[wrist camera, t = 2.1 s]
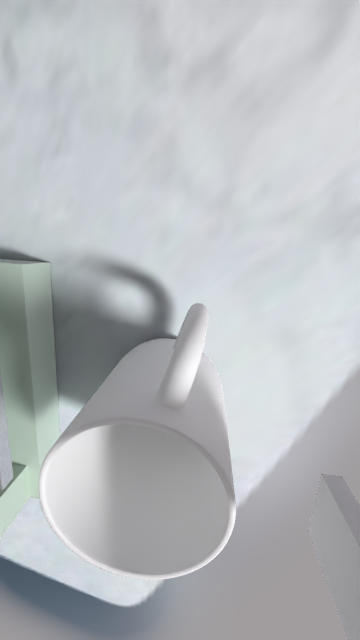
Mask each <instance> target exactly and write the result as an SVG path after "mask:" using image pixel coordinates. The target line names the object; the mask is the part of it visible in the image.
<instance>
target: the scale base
mask: <svg viewBox="0 0 360 640" xmlns="http://www.w3.org/2000/svg"><path fill="white" fill-rule="evenodd" d="M0 368H1V376H2V385H3V393H4V402H5V410H6V419H7V427H8V435H9V444H10V452H11V461H12V469H13V479H12V480H11V481H10V482H9V483H8V485H7V486H6V487H5V488H4V489H3V490H0V539H1V537H2V536H3V534H4V533H5V532H6V530H7V529H8V527H9V526H10V525H11V523H12V522H13V521H14V519H15V518H16V516H17V515H18V514H19V512H20V511H21V509H22V508H23V507H24V505H25V504H26V502H27V501H28V500H29V498H30V497H32V498H39V490H38V484H39V475H40V470H41V467H42V463H43V461H44V459H45V457H46V455H47V453H48V452H49V450H50V449H51V448H52V446H53V445H54V444H55V442H56V441H57V440H58V439H59V437H60V421H59V404H58V388H57V371H56V354H55V338H54V321H53V304H52V287H51V271H50V262H38V261H25V260H11V259H0Z"/></svg>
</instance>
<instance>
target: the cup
mask: <svg viewBox="0 0 360 640" xmlns="http://www.w3.org/2000/svg"><path fill="white" fill-rule="evenodd" d="M208 317H209V315H208V310H207V308H206V307H205V306H204V305H203V304H199V303H197V304H194V305H192V306H191V307H190V309H189V310H188V313H187V315H186V317H185V320H184V322H183V324H182V327H181V329H180V332H179V334H178V336H177V339H169V338H161V339H153V340H149V341H146V342H144V343H141V344H139V345H138V346H136V347H134V348H133V349H132V350H130V351H129V352H128V353H127V354H126V355H125V356H124V357H123V358H122V359H121V360H120V361H119V363H118V364H117V365H116V366H115V368H114V369H113V370H112V372H111V373H110V374H109V375H108V377H107V378H106V379H105V380H104V382H103V383H102V384H101V385H100V387H99V388H98V389H97V391H96V392H95V393H94V394H93V396H92V397H91V398H90V399H89V401H88V402H87V403H86V404H85V406H84V407H83V408H82V410H81V411H80V412H79V413H78V415H77V416H76V417H75V418H74V420H73V421H72V422H71V423H70V425H69V426H68V427H67V429H66V430H65V431H64V432H63V434H62V435H61V436H60V437H59V439H58V440H57V441H56V442H55V444H54V445H53V446H52V448H51V449H50V450H49V452H48V453H47V455H46V457H45V459H44V461H43V463H42V467H41V470H40V475H39V484H38V490H39V499H40V504H41V507H42V510H43V513H44V515H45V517H46V519H47V521H48V523H49V525H50V526H51V528H52V530H53V531H54V532H55V534H56V535H57V536H58V538H59V539H60V540H61V541H62V542H63V543H64V544H65V545H66V546H67V547H68V548H69V549H70V550H72V551H73V552H74V553H75V554H77V555H78V556H79V557H81V558H82V559H84V560H85V561H87V562H89V563H91V564H92V565H94V566H96V567H98V568H101V569H103V570H105V571H108V572H111V573H114V574H117V575H121V576H125V577H130V578H136V579H148V580H155V579H168V578H173V577H178V576H182V575H185V574H187V573H190V572H193V571H195V570H197V569H199V568H201V567H203V566H204V565H205V564H207V563H209V562H210V561H211V560H212V559H213V558H215V557H216V556H217V555H218V554H219V553H220V551H221V550H222V549H223V548H224V546H225V545H226V543H227V541H228V539H229V537H230V535H231V533H232V530H233V527H234V523H235V517H236V503H235V494H234V485H233V476H232V467H231V458H230V449H229V440H228V431H227V422H226V413H225V405H224V396H223V388H222V383H221V379H220V376H219V374H218V371H217V369H216V367H215V366H214V364H213V363H212V361H211V360H210V359H209V358H208V356H206V355H205V354H204V353H203V348H204V343H205V338H206V333H207V326H208Z"/></svg>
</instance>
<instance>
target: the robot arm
mask: <svg viewBox="0 0 360 640" xmlns="http://www.w3.org/2000/svg"><path fill="white" fill-rule="evenodd" d="M308 533H309V536H310V538H311V541H312V544H313V547H314V549H315V552H316V555H317V557H318V560H319V563H320V565H321V568H322V571H323V573H324V576H325V579H326V582H327V585H328V587H329V590H330V593H331V595H332V598H333V601H334V604H335V606H336V609H337V612H338V615H339V617H340V620H341V623H342V626H343V628H344V631H345V634H346V636H347V639H348V640H360V504H359V503H358V501H357V499H356V498H355V496H354V494H353V493H352V491H351V490H350V488H349V486H348V485H347V483H346V481H345V480H344V478H343V477H341V476H334V475H326V474H321V477H320V481H319V486H318V490H317V495H316V499H315V503H314V507H313V512H312V516H311V521H310V524H309V529H308Z"/></svg>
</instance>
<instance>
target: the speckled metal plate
mask: <svg viewBox="0 0 360 640" xmlns="http://www.w3.org/2000/svg"><path fill="white" fill-rule="evenodd" d="M12 479H13V469H12V461H11V452H10V444H9V435H8V427H7V419H6V410H5V402H4V393H3V385H2V376H1V368H0V490H3V489H4V488H5V487H6V486H7V485H8V483H9V482H10V481H11V480H12Z"/></svg>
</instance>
